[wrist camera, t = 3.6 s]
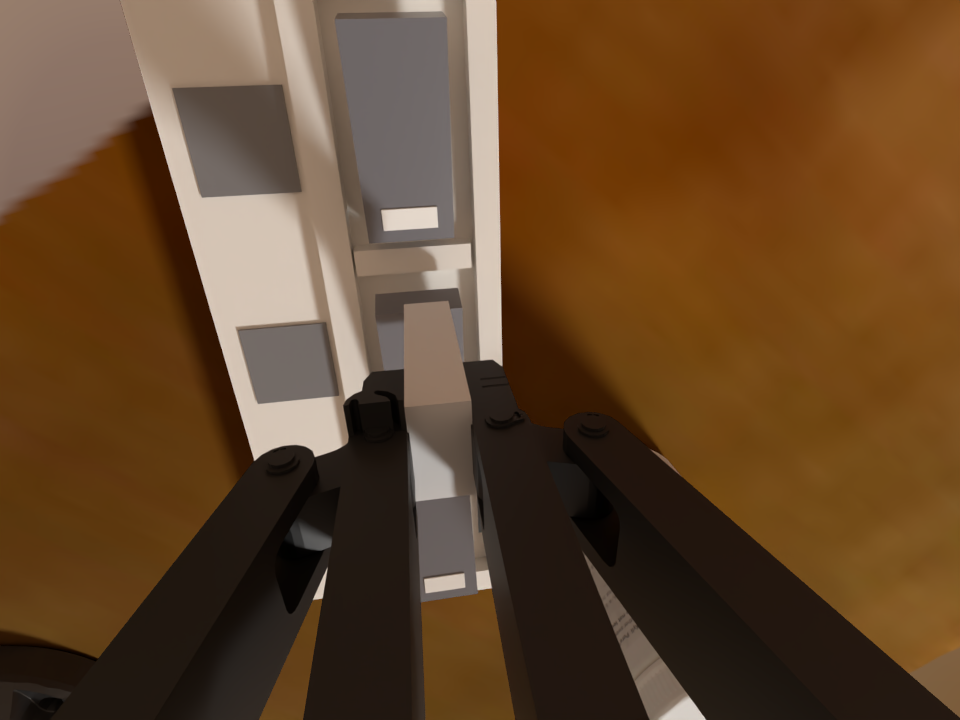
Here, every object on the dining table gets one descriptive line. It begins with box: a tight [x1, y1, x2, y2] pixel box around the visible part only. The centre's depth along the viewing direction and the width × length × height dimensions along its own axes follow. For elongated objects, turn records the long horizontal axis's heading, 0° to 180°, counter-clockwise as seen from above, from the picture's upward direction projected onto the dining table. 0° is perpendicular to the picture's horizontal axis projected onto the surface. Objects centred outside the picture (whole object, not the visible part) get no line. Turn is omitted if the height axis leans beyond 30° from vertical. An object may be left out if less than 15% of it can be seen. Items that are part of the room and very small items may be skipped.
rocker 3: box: [416, 495, 478, 602], centre depth 25 cm, size 3×7×2 cm, turn 2°
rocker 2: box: [375, 288, 464, 371], centre depth 21 cm, size 3×7×2 cm, turn 2°
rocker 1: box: [334, 11, 454, 244], centre depth 17 cm, size 3×7×2 cm, turn 2°
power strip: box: [120, 0, 502, 600], centre depth 25 cm, size 12×36×5 cm, turn 2°
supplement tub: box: [583, 449, 706, 720], centre depth 28 cm, size 10×10×15 cm
